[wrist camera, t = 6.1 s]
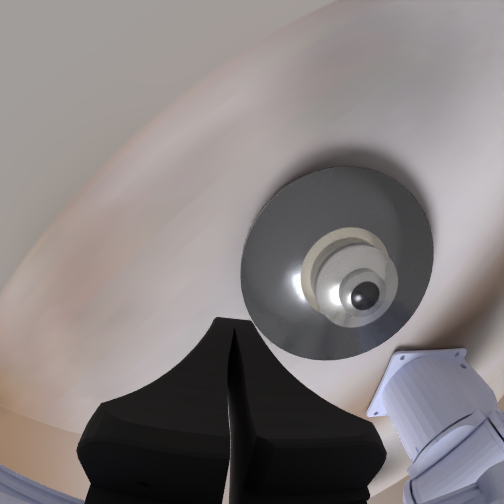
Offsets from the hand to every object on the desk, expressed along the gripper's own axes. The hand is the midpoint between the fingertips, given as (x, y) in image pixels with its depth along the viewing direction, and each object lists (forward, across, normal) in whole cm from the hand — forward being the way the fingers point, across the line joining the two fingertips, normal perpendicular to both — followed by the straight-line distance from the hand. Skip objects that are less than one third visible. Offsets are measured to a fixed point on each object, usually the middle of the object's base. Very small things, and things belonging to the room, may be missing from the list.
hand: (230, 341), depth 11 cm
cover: (+9, -8, 0) cm, 12 cm away
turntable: (+10, -8, 0) cm, 13 cm away
